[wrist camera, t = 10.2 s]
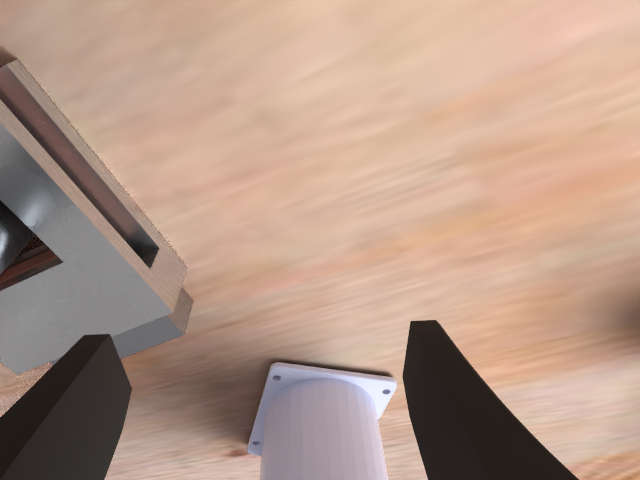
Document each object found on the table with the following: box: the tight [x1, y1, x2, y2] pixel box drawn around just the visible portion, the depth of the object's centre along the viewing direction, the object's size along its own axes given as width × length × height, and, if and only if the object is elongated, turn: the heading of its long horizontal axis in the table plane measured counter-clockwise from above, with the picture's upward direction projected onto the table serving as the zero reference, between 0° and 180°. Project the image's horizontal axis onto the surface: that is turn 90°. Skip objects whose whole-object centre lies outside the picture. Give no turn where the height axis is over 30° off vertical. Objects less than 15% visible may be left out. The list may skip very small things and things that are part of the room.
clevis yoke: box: [0, 59, 193, 375], centre depth 19 cm, size 13×9×3 cm
